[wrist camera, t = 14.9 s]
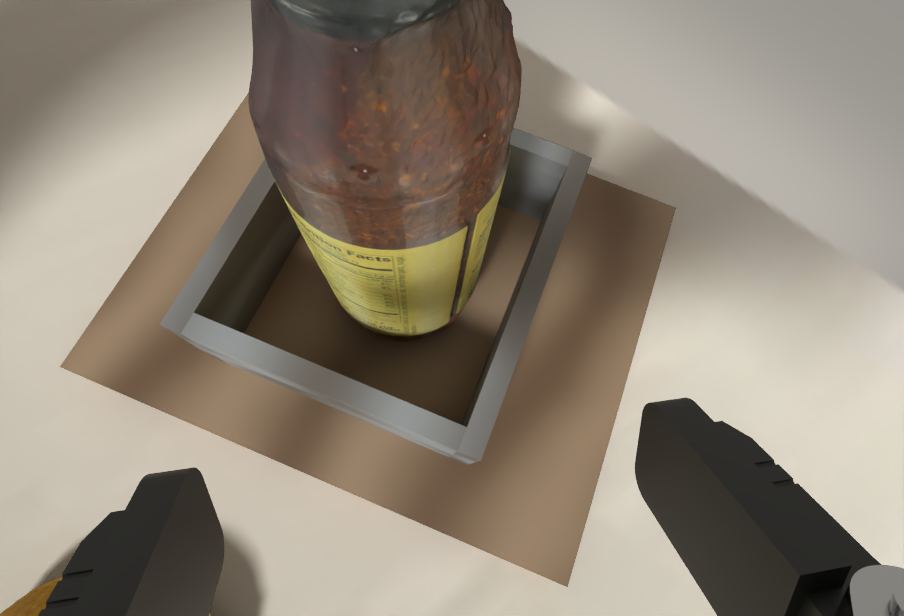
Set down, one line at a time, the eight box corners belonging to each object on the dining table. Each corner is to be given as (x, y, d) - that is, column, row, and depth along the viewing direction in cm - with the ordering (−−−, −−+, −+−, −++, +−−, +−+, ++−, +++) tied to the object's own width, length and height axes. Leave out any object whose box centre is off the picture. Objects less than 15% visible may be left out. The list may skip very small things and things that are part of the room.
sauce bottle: (415, 196, 24) (426, -743, 6) (501, 292, 23) (877, -513, 4) (300, 274, 23) (-223, -701, 4) (386, 382, 21) (207, -306, 3)
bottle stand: (82, 374, 22) (-31, 337, 16) (282, 75, 28) (248, -28, 22) (556, 579, 21) (610, 616, 15) (661, 222, 27) (728, 152, 21)
